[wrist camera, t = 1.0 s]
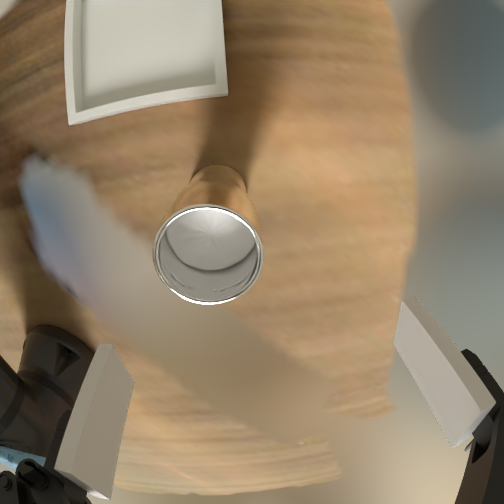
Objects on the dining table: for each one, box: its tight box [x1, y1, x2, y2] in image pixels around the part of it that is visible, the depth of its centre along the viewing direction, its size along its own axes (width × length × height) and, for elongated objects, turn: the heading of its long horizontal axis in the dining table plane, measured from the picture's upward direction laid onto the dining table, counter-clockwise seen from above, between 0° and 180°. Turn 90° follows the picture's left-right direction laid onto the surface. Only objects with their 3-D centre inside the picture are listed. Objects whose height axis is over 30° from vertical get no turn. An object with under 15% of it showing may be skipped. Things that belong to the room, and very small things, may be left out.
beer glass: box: [153, 165, 264, 305], centre depth 24 cm, size 7×7×15 cm
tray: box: [64, 0, 228, 125], centre depth 21 cm, size 16×16×3 cm
